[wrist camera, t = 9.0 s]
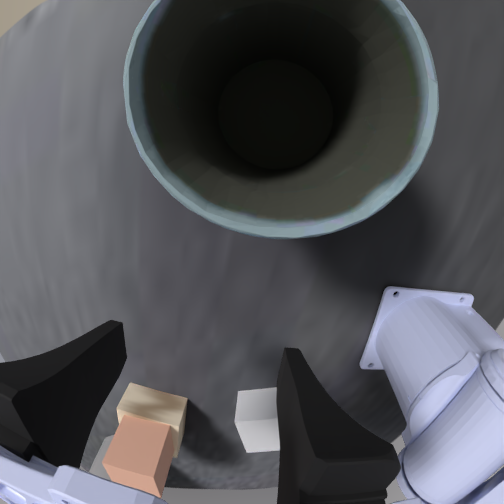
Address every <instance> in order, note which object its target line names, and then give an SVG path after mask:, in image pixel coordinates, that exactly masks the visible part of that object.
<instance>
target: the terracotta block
mask: <svg viewBox="0 0 504 504" xmlns="http://www.w3.org/2000/svg"><path fill="white" fill-rule="evenodd" d="M173 454H174V446H173V440H172V434H171V428H170V425H167V424H162V423H158V422H153V421H149V420H144V419H140V418H136V417H132V416H128V415H124V416H123V418H122V420H121V422H120V424H119V426H118V428H117V431H116V433H115V435H114V437H113V439H112V441H111V443H110V446H109V448H108V450H107V452H106V454H105V457H104V459H103V461H102V464H103V466H104V468H105V469H106V471H107V473H108V475H109V477H110V478H111V480H112V481H113V482H116V483H120V484H123V485H126V486H129V487H133V488H136V489H139V490H142V491H145V492H148V493H151V494H153V495H155V496H157V497H159V498H161V497H162V493H163V489H164V486H165V482H166V479H167V475H168V472H169V468H170V465H171V461H172V457H173Z"/></svg>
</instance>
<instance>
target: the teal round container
mask: <svg viewBox="0 0 504 504" xmlns="http://www.w3.org/2000/svg"><path fill="white" fill-rule="evenodd" d="M123 87H124V97H125V106H126V115H127V123H128V126H129V129H130V131H131V134H132V136H133V139H134V141H135V144H136V146H137V149H138V151H139V154H140V156H141V157H142V159H143V160H144V162H145V163H146V165H147V166H148V168H149V169H150V171H151V172H152V174H153V175H154V177H155V178H156V179H157V180H158V181H159V182H160V183H161V184H162V185H163V186H164V188H165V189H166V190H167V191H168V192H169V193H170V194H171V195H172V196H173V197H174V198H175V199H177V200H178V201H179V202H180V203H182V204H183V205H184V206H185V207H187V208H188V209H190V210H191V211H193V212H195V213H196V214H198V215H200V216H202V217H203V218H205V219H207V220H208V221H210V222H212V223H214V224H217V225H219V226H222V227H224V228H227V229H229V230H233V231H236V232H239V233H243V234H247V235H251V236H256V237H263V238H271V239H297V238H308V237H318V236H322V235H326V234H330V233H334V232H337V231H340V230H343V229H345V228H348V227H350V226H353V225H355V224H358V223H360V222H362V221H364V220H365V219H367V218H369V217H371V216H372V215H374V214H375V213H377V212H378V211H380V210H381V209H382V208H384V207H385V206H386V205H388V204H389V203H390V202H391V201H392V200H393V199H394V198H395V197H396V196H397V195H398V194H400V193H401V192H402V191H403V190H404V188H405V187H406V186H407V185H408V183H409V182H410V181H411V179H412V178H413V177H414V175H415V174H416V173H417V171H418V170H419V168H420V166H421V165H422V163H423V161H424V159H425V157H426V155H427V152H428V150H429V148H430V146H431V143H432V140H433V136H434V132H435V127H436V122H437V116H438V111H439V91H438V82H437V76H436V71H435V67H434V62H433V58H432V55H431V52H430V49H429V46H428V43H427V40H426V38H425V36H424V34H423V32H422V30H421V28H420V27H419V25H418V23H417V21H416V20H415V19H414V17H413V16H412V14H411V13H410V12H409V10H408V9H407V8H406V6H405V5H404V4H403V3H402V2H401V1H400V0H155V1H154V2H153V3H152V4H151V6H150V7H149V9H148V10H147V12H146V13H145V15H144V16H143V18H142V20H141V21H140V23H139V24H138V26H137V28H136V29H135V32H134V35H133V38H132V41H131V44H130V47H129V50H128V53H127V56H126V60H125V68H124V77H123Z"/></svg>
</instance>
